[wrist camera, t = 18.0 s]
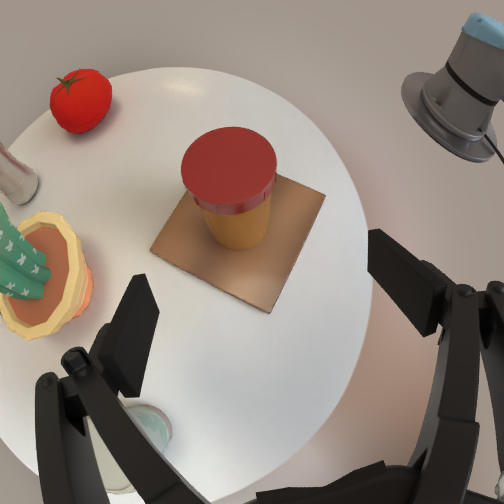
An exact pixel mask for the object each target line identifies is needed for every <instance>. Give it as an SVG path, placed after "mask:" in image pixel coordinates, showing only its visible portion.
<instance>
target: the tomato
mask: <svg viewBox="0 0 504 504" xmlns="http://www.w3.org/2000/svg"><path fill="white" fill-rule="evenodd" d="M57 79H58V80H60V81H61V82H62V83H60V84H59V85H58V86H56V87H55V88H53V90H52V92H51V97H50V109H51V111H52V114H53V116H54V117H55V118H56V120H57V123H58V124H59V125H60V126H61V127H62V128H64V129H65V130H67V131H68V132H72V133H82V132H85V131H88V130H90V129H92V128H93V127H94V126H96V125H97V124H99V122H100V121H101V120H102V119H103V118H104V116H105V115H106V113H107V111H108V110H109V108H110V104H111V100H112V86H111V84H110V82H109V80H107V79H106V78H105V77H104V76H103V75H101V74H100V73H99V72H98V71H96V70H93V69H80V70H76V71H73V72H71V73H69V74H68V75H66V76H65V77H64V79H63V80H62V79H59V78H57Z"/></svg>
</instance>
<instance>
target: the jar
mask: <svg viewBox="0 0 504 504" xmlns="http://www.w3.org/2000/svg"><path fill="white" fill-rule="evenodd" d="M271 192H272V191H271ZM199 209H200V211H201V213H202V215H203V218H204V220H205V222H206V224H207V226H208V229H209V231H210V233H211V235H212V237H213V238H214V240H215V241H216V242H217V243H218V244H220V245H221V246H223V247H225V248H227V249H231V250H246V249H249V248H252V247H254V246H256V245H257V244H258V243H260V242H261V241H262V240H263V239H264V237H265V236H266V234H267V232H268V229H269V225H270V210H271V193H270V194H269V196H268V197H267V198H266V201H263V202H262V203H261V204H260V205H259V206H257V207H256V208H254V209H252V210H250V211H247V212H245V213H241V214H237V215H218V214H214V213H211V212H208V211H206V210H204V209H203V208H201V207H200V206H199Z"/></svg>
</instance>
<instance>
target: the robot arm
mask: <svg viewBox="0 0 504 504" xmlns="http://www.w3.org/2000/svg"><path fill="white" fill-rule="evenodd" d="M421 96H422V99H423V102H424V104H425V105H426V107H427V109H428V110H429V111H430V113H431V114H432V115H433V116H434V117H435V118H436V120H437V121H438V122H439V123H441V124H442V125H443V126H444V127H445V128H446V129H448V130H449V131H450V132H452V133H453V134H455V135H457V136H458V137H460V138H462V139H465V140H468V141H473V142H475V141H479V140H481V139H482V138H483V136H484V137H485V138H486V140H487V141H488V142H489V143H490V145H491V146H492V148H493V149H494V150H495V152H496V153H497V154H498V156H499V157H500V159H501V161H502V162H503V164H504V158H503V156H502V155H501V153H500V152H499V151H498V149H497V148H496V146H495V145H494V144H493V142H492V141H491V140H490V138H489V137H488V136H487V134H486V132H487V130H488V127H489V124H490V120H491V117H492V113H493V110H494V107H495V105H496V104H497V103H498V101H499V100H500V99H501V100H502V101H504V25H503V24H502V23H500V22H498V21H497V20H495V19H493V18H491V17H489V16H486V15H484V14H480V13H473V14H471V15H470V16H469V18H468V19H467V21H466V23H465V25H464V26H463V27H462V32H461V35H460V36H459V39H458V41H457V43H456V45H455V47H454V49H453V50H452V53H451V54H450V57H449V58H448V60H447V62H446V64H445V66H444V67H443V68H442V69H440V70H439V71H438V72H437V73H435V74H434V75H433V76H432V77H430V78H429V79H428V80H427V81H426V82H425V84H424V86H423V88H422V90H421ZM367 271H368V272H369V273H370V275H371V276H372V277H373V278H374V279H375V280H376V281H377V282H378V284H379V285H380V286H381V287H382V288H383V289H384V290H385V292H386V293H387V294H388V295H389V296H390V297H391V299H392V300H393V301H394V302H395V303H396V304H397V306H398V307H399V308H400V309H401V311H402V312H403V313H404V314H405V315H406V317H407V318H408V319H409V320H410V321H411V323H412V324H413V325H414V326H415V328H416V329H417V330H418V331H419V333H420V334H421V335H422V336H423V337H426V336H428V335H431V334H433V333H436V329H437V326H438V323H439V324H440V325H441V326H442V327H443V328H442V332H441V335H440V338H439V341H438V345H439V351H438V358H437V364H436V369H435V374H434V379H433V384H432V389H431V393H430V398H429V402H428V406H427V410H426V414H425V417H424V421H423V425H422V428H421V432H420V435H419V438H418V441H417V444H416V447H415V450H414V452H413V455H412V457H411V459H410V461H409V463H408V465H407V466H402V465H390V466H385V463H384V461H383V460H382V461H379V462H377V463H375V464H371V465H368V466H366V467H363V468H360V469H357V470H354V471H352V472H350V473H349V474H347V475H345V476H343V477H342V478H340V479H338V480H336V481H334V482H332V483H330V484H328V485H326V486H324V487H287V488H282V489H276V490H270V491H263V492H256V497H257V498H256V499H253V500H251V501H249V502H246V503H244V504H504V283H502V282H500V281H491V282H489V283H488V285H487V289H486V291H478V292H476V290H475V289H474V288H473V287H471V286H469V285H466V284H458V285H457V284H455V283H454V282H453V281H452V280H451V279H450V278H448V277H447V276H446V275H445V274H444V273H442V272H441V271H440V270H439V269H437V268H436V267H435V266H434V265H433V264H432V263H429V262H427V261H425V260H421V261H420V260H419V259H417V258H416V257H415V256H414V255H412V254H411V253H410V252H409V251H408V250H406V249H405V248H404V247H403V246H401V245H400V244H399V243H397V242H396V241H395V240H394V239H392V238H391V237H390V236H388V235H387V234H386V233H385V232H383V231H382V230H381V229H374V230H368V270H367ZM159 313H160V311H159V309H158V307H157V304H156V301H155V299H154V296H153V294H152V291H151V288H150V286H149V283H148V280H147V278H146V275H145V273H144V274H139V275H134V276H133V277H132V279H131V281H130V283H129V285H128V287H127V289H126V291H125V293H124V295H123V297H122V299H121V301H120V303H119V306H118V308H117V310H116V312H115V314H114V316H113V318H112V321H111V323H105V324H104V326H103V327H102V328H101V329H100V330H99V332H98V334H97V336H96V338H95V340H94V342H93V343H94V344H93V345H92V347H91V349H90V351H89V354H88V353H87V352H86V350H85V349H84V348H83V347H74V348H72V349H70V350H68V351H67V352H66V353H65V354H64V355H63V356H62V359H61V365H62V366H63V368H64V369H65V371H66V372H67V373H68V375H69V376H67V377H64V378H61V379H59V378H58V376H57V375H56V374H55V373H53V372H48V373H45V374H43V375H42V376H41V377H40V378H39V379H38V381H37V382H36V386H35V434H36V450H37V461H38V470H39V478H40V485H41V491H42V497H43V502H44V504H110V502H109V499H108V496H107V493H106V490H105V487H104V484H103V481H102V477H101V474H100V471H99V467H98V464H97V460H96V456H95V452H94V448H93V444H92V440H91V435H90V431H89V426H88V421H87V416H89V417H90V419H91V421H92V423H93V424H94V426H95V428H96V430H97V432H98V433H99V435H100V437H101V438H102V440H103V442H104V444H105V445H106V447H107V449H108V450H109V452H110V453H111V455H112V456H113V458H114V460H115V461H116V463H117V464H118V466H119V467H120V469H121V470H122V472H123V473H124V474H125V476H126V477H127V479H128V480H129V482H130V483H131V484H132V486H133V487H134V488H135V490H136V491H137V492H138V494H139V495H140V496H141V497H142V499H143V500H144V502H145V504H211V503H210V502H209V501H208V500H206V499H205V498H204V497H203V496H202V495H201V494H200V493H199V492H198V491H197V490H196V489H195V488H194V487H193V486H192V485H191V484H190V483H189V482H188V481H187V480H186V479H185V478H184V477H183V476H182V475H181V474H180V473H179V472H178V471H177V470H176V469H175V468H174V467H173V466H172V465H171V463H170V462H169V461H168V460H167V459H166V458H165V457H164V456H163V455H162V453H161V452H160V451H159V450H158V449H157V448H156V446H155V445H154V444H153V443H152V442H151V440H150V439H149V438H148V437H147V436H146V434H145V433H144V432H143V431H142V429H141V428H140V427H139V425H138V424H137V423H136V422H135V420H134V419H133V418H132V416H131V415H130V414H129V412H128V411H127V409H126V408H125V407H124V405H123V404H122V402H121V401H120V400H119V398H118V397H117V396H118V392H119V390H120V392H121V393H122V395H123V396H124V397H125V398H134V397H140V392H141V387H142V383H143V378H144V373H145V369H146V365H147V360H148V356H149V352H150V348H151V344H152V340H153V336H154V332H155V328H156V324H157V320H158V317H159ZM480 352H481V356H482V360H483V364H484V368H485V372H486V377H487V381H488V386H489V391H490V396H491V402H492V408H493V415H494V422H495V430H496V438H497V439H496V440H497V451H498V460H499V466H500V471H501V475H500V478H499V481H498V484H497V485H496V487H495V494H496V495H497V496H498V497H497V499H494V498H491V497H488V496H484V495H482V494H479V493H476V492H473V491H470V490H467V486H468V483H469V479H470V475H471V471H472V467H473V462H474V458H475V453H476V448H477V442H478V437H479V428H480V425H479V423H478V422H475V414H476V407H477V396H478V384H479V364H480Z"/></svg>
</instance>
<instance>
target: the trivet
mask: <svg viewBox="0 0 504 504" xmlns="http://www.w3.org/2000/svg"><path fill="white" fill-rule="evenodd" d="M325 197H326V195H324V194H322V193H320V192H318V191H316V190H313V189H311V188H309V187H307V186H304V185H302V184H300V183H297V182H295V181H293V180H290V179H288V178H286V177H283V176H281V175H279V174H277V177H276V182H275V184H274V187H273V189H272V192H271V210H270V225H269V229H268V232H267V234H266V236H265V237H264V239H263V240H262V241H261V242H260V243H258V244H257V245H256V246H254V247H252V248H249V249H246V250H231V249H227V248H225V247H223V246H221V245H220V244H218V243H217V242H216V241H215V240H214V238H213V237H212V235H211V233H210V231H209V229H208V226H207V224H206V222H205V220H204V218H203V215H202V213H201V211H200V209H199V206H197V205H196V203H195V202H194V201H193V199H192V198H191V196H190V194H189V192H188V190H187V191H186V193H185V194H184V196H183V197H182V199H181V200H180V202H179V203H178V205H177V206H176V208H175V210H174V211H173V213H172V214H171V216H170V217H169V219H168V221H167V222H166V224H165V226H164V227H163V229H162V230H161V232H160V234H159V235H158V237H157V239H156V240H155V242H154V244H153V245H152V247H151V249H150V251H151V252H152V253H154V254H156V255H157V256H159V257H161V258H163V259H165V260H166V261H168V262H170V263H172V264H174V265H176V266H177V267H179V268H181V269H183V270H185V271H187V272H189V273H190V274H192V275H194V276H196V277H198V278H200V279H202V280H204V281H205V282H207V283H209V284H211V285H213V286H215V287H217V288H219V289H221V290H223V291H225V292H227V293H229V294H231V295H232V296H234V297H236V298H238V299H240V300H242V301H244V302H246V303H248V304H250V305H252V306H254V307H256V308H258V309H260V310H262V311H264V312H266V313H268V314H270V312H271V310H272V308H273V307H274V305H275V303H276V301H277V299H278V296H279V294H280V292H281V290H282V288H283V286H284V284H285V282H286V280H287V278H288V276H289V274H290V272H291V270H292V268H293V266H294V264H295V262H296V260H297V257H298V255H299V253H300V251H301V249H302V247H303V245H304V243H305V241H306V238H307V236H308V234H309V232H310V230H311V228H312V225H313V223H314V221H315V219H316V217H317V214H318V212H319V210H320V208H321V206H322V203H323V201H324V199H325Z"/></svg>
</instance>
